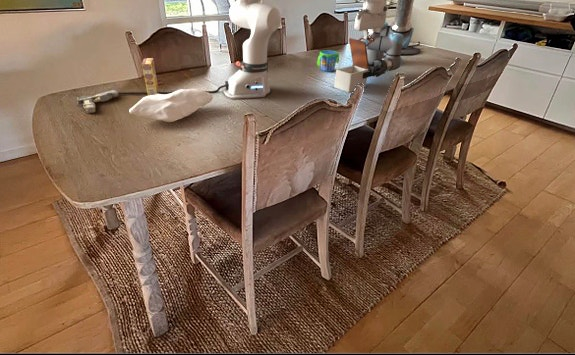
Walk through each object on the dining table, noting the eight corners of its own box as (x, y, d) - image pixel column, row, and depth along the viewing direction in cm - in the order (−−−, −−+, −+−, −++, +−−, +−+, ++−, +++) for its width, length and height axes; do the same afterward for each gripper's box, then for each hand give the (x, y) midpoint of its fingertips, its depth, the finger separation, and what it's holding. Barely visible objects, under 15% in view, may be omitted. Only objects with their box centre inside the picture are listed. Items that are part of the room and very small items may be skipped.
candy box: (157, 97, 164) (152, 63, 155) (147, 98, 163) (141, 63, 155) (158, 91, 171) (153, 57, 163) (149, 91, 170) (143, 58, 162)
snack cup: (332, 66, 217) (333, 48, 212) (343, 70, 210) (345, 52, 204) (311, 69, 210) (312, 51, 204) (322, 74, 202) (324, 55, 197)
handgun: (128, 97, 156) (111, 87, 164) (86, 107, 144) (70, 97, 152) (129, 103, 157) (113, 94, 165) (88, 114, 146) (72, 103, 154)
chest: (348, 92, 179) (350, 74, 175) (334, 87, 185) (336, 69, 180) (365, 87, 187) (368, 69, 182) (351, 82, 193) (353, 65, 188)
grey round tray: (430, 51, 257) (433, 37, 253) (397, 56, 240) (399, 42, 235) (392, 44, 282) (394, 31, 277) (360, 48, 264) (361, 35, 260)
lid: (364, 42, 171) (376, 32, 174) (348, 39, 177) (360, 29, 180) (367, 69, 182) (378, 59, 185) (353, 64, 188) (363, 55, 191)
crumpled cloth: (117, 110, 146) (113, 90, 140) (195, 92, 166) (194, 73, 160) (143, 139, 134) (140, 118, 128) (223, 116, 154) (224, 96, 148)
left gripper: (363, 10, 164) (359, 42, 171) (390, 7, 176) (385, 37, 183) (353, 8, 168) (349, 40, 175) (379, 5, 179) (374, 34, 187)
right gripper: (397, 78, 193) (371, 86, 180) (364, 68, 206) (338, 75, 193) (400, 63, 189) (374, 71, 176) (366, 54, 202) (339, 60, 189)
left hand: (367, 38), depth 179 cm, fingers closed on lid, 2 cm apart
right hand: (355, 73), depth 184 cm, fingers closed on chest, 9 cm apart
